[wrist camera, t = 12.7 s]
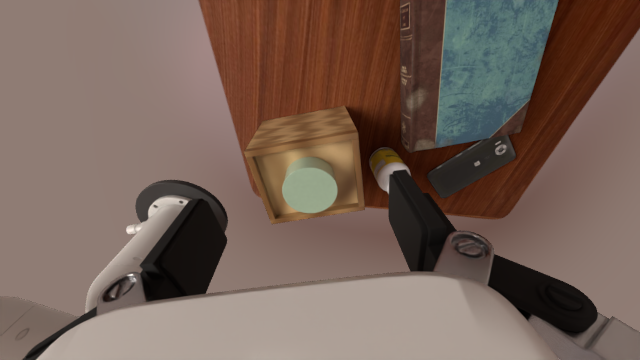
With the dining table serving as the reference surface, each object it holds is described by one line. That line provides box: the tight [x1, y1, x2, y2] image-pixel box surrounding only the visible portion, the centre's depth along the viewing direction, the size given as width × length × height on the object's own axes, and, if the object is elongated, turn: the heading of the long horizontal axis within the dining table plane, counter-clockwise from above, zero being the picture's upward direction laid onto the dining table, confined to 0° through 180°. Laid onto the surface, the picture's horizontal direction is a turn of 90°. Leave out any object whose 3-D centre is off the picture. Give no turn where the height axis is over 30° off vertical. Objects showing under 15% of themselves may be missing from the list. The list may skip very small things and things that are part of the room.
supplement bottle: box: [369, 147, 411, 194], centre depth 39 cm, size 5×5×10 cm
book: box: [400, 0, 558, 153], centre depth 32 cm, size 23×18×5 cm
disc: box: [282, 157, 338, 213], centre depth 30 cm, size 7×7×3 cm
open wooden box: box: [244, 106, 365, 224], centre depth 35 cm, size 14×12×13 cm
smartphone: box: [427, 135, 516, 198], centre depth 43 cm, size 8×15×1 cm, turn 130°
